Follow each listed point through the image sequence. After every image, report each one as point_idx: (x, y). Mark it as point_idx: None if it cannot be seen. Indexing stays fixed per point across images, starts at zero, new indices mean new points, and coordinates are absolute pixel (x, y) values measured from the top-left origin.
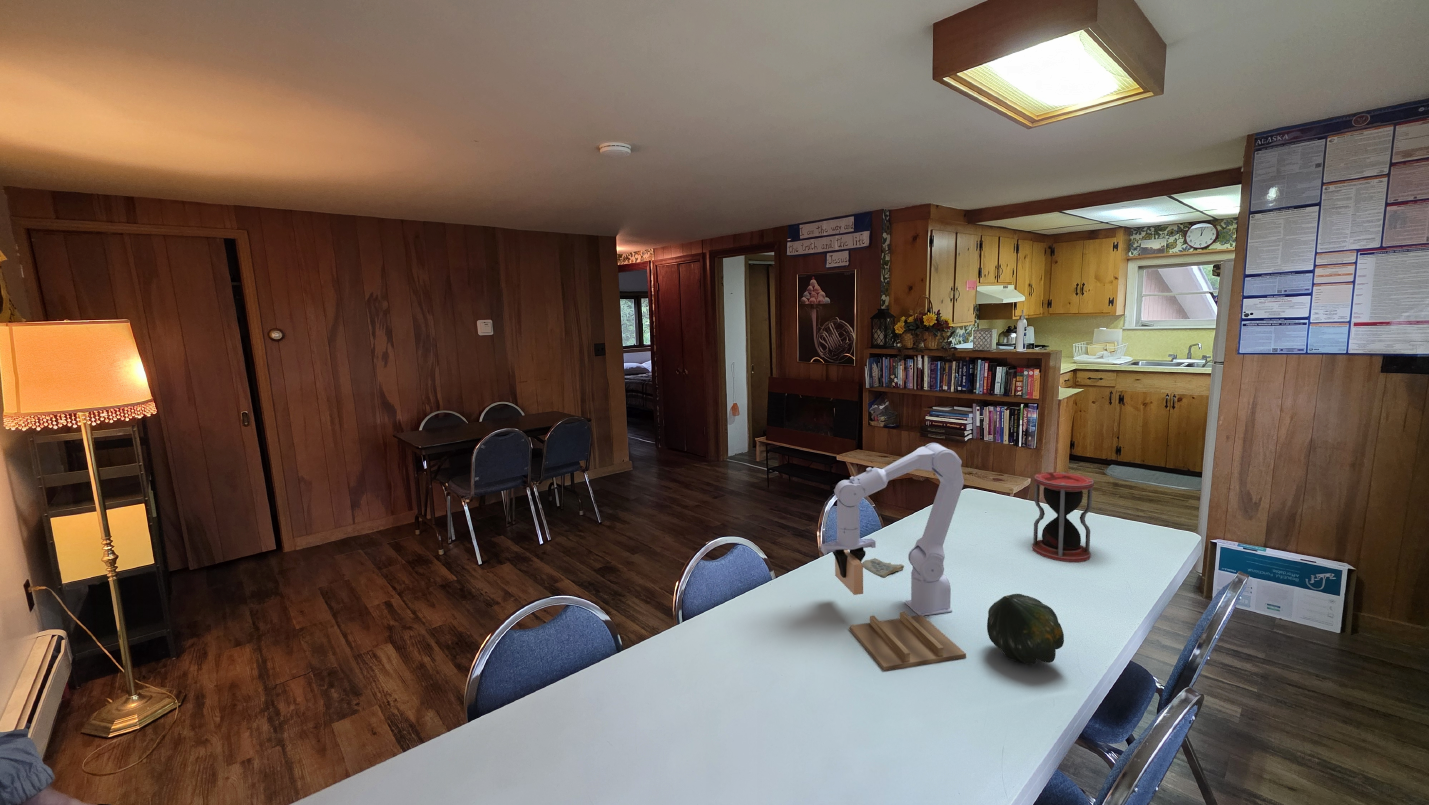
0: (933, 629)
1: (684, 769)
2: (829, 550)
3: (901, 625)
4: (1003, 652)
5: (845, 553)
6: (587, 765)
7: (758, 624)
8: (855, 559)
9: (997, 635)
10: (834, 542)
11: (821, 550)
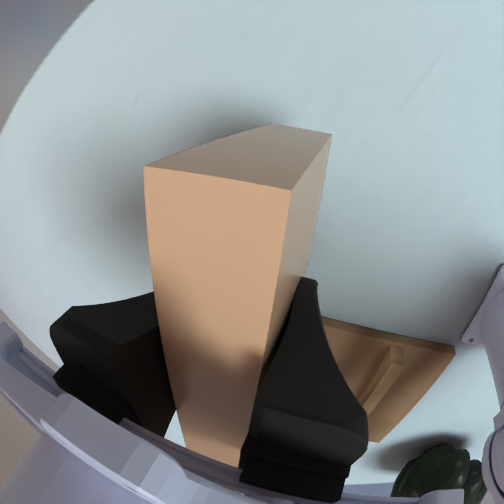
0: (411, 397)
1: (47, 349)
2: (36, 376)
3: (368, 364)
4: (403, 468)
5: (202, 364)
6: (7, 308)
7: (63, 173)
8: (229, 442)
9: (395, 489)
10: (27, 399)
11: (1, 329)
